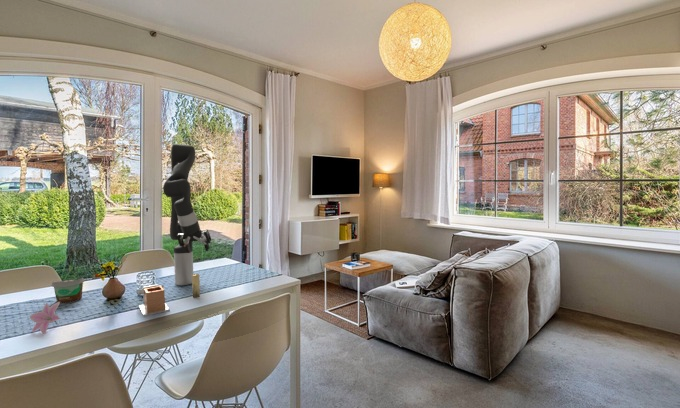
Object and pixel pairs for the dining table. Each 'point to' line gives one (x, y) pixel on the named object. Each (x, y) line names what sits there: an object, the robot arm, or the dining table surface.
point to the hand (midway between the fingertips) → (198, 251)
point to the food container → (68, 290)
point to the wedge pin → (196, 285)
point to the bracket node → (153, 300)
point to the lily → (45, 317)
